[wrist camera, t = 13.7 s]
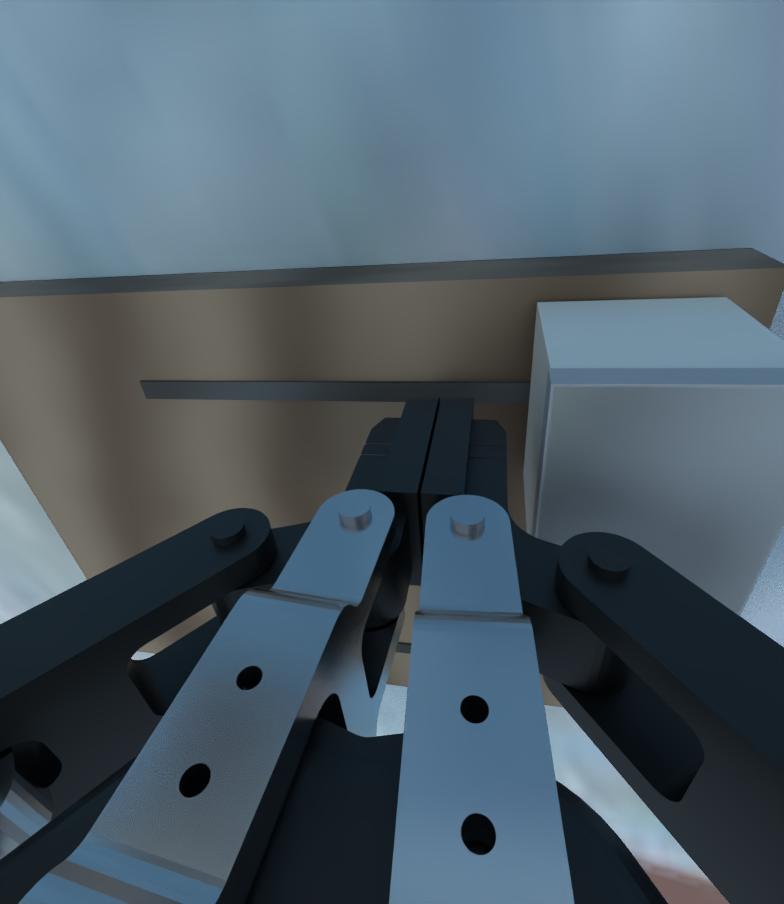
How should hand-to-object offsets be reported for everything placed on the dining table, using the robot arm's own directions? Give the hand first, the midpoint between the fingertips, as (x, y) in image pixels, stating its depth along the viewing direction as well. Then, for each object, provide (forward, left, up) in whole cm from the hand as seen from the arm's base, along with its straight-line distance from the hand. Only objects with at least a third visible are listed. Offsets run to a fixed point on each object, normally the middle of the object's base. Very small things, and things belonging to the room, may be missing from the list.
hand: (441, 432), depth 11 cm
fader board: (+5, +6, -4) cm, 9 cm away
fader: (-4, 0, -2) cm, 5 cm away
